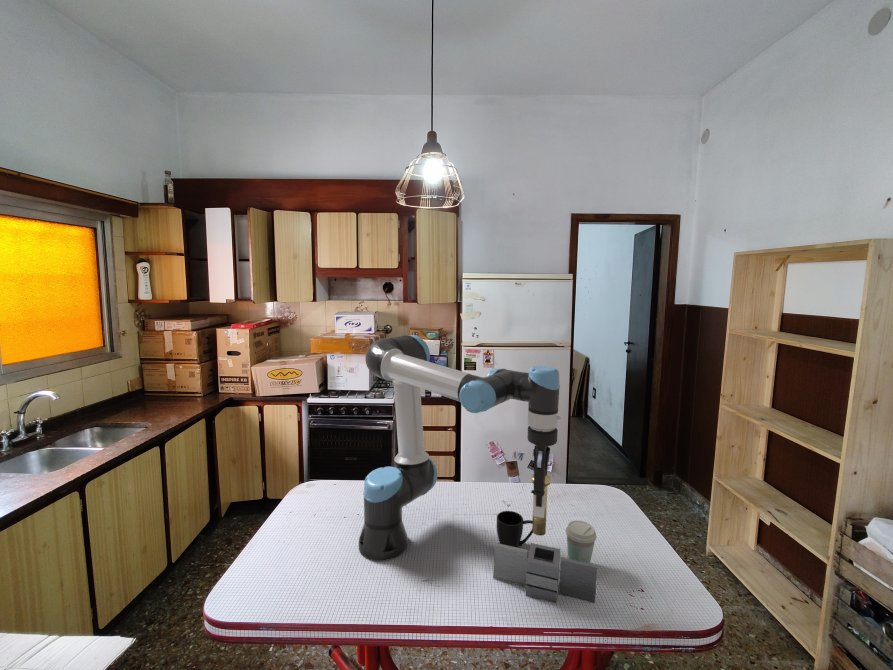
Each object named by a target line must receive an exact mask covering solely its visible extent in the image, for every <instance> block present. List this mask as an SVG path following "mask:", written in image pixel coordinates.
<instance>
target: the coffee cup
mask: <svg viewBox="0 0 893 670" xmlns="http://www.w3.org/2000/svg"><path fill="white" fill-rule="evenodd" d="M565 534H566V542H567V543H566V544H567V559H571V560H576V561H581V562H585V563H590V564H591V561H592V557H593V552H594V546H595V541H596V540H597V533H596V529H595V527H594V526H593V525H592V524H591V523H589V522H587V521H584V520H576V519H575V520H572V521H570V522H569V523H568V524H567V526H566V528H565Z"/></svg>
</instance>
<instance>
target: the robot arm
mask: <svg viewBox="0 0 893 670" xmlns="http://www.w3.org/2000/svg"><path fill="white" fill-rule="evenodd" d="M430 354H431V353H430V348H429V346H428V344H427V343H426V341H424V340H423V338H422V337H420V336H418V335H416V334H415V335H414V334H405V335H403V334H402V335H397V336H391V337H384V338H378V339H377V340H375V341H374V342H372V343H371V344H370V345H369V347H368V348H367V350H366V353H365V358H364V360H365V365H366V367H367V369H368V370H369V372H370V373H371V374H372V375H374V376H376V377H378V378H379V379H382V380H385V381H387V382H392V383H393V391H394V406H395V420H396V432H397V433H396V435H397V437H396V438H397V448H398V451H397V452H398V453H397V454H396V456H395V457H394V458H393V459H394V466H384V467H382V466H381V467H378V468H376V469H373V470H372V471H370V472H369V473H368V474H367V476H365V478H364V482H363V483H364V484H363V490H362V491H363V519H364V520H363V521H364V522H363V526H362V529H361V532H360V535H359V537H358V550H359V553H360V554H361V555H362V556H363V557H364V558H366V559H368V560H370V561H376V562H384V561H390V560H393V559H396V558H397V557H400V556H401V555H402V554H403V553H404V552H405V551H406V550H407V548H408V544H409V543H408V537H409V536H408V534H407V531H406V528H405V526H404V522H403V508H404V507H405V506H407V505H409V504H410V503H411V502H414V501H415V500H416V499H418V498H420V497H423V496H424V495H426V494H427V493H428V492H429V491H431V490H432V489H433V488H434V486H436V483H437V481H438V469H437V465H436V464H434V463H435V462H434V460H433V459H432V458H431V457H430V455H429V453H428V452H426V450H425V443H424V439H425V438H424V427H423V409H422V394H421V393H422V392H421V389H422V390H424V391H428V392H431V393H434V394H436V395H439V396H442V397H445V398H448V399H451V400H454V401H457V402H460V405H461V406H462V407H463V408H464V409H465V410H466V412H469V413H471V414H478V413H481V412H486V411H489V410H490V409H492V408H494V407H496V406H498V405H501V404H503V403H504V402H507V401H510V400H516V401H521V402H526V403H528V404H527V406H528V408H527V425H528V427H527V441H528V442H529V443H530V444H533V445H534V449H533V451H532V452H533V453H532V455H533V474H534V484H533V489H532V490H531V491H530V493H531V494H533V495H534V511H533V510H532V517H533V516H535V517H541V518H544V510H545V491H544V489H545V475H548V468H549V467H548V465H549V460H550V453H551V447H552V446H554V445H556V444H557V443H558V435H559V434H558V428H557V427H559V426H558V424H559V423H558V422H559V420H561V417H562V416H561V415H559V401H560V389H561V385H560V372H559V370H558V369H557V368H555V367H552V366H549V365H548V366H546V365H535V366H531V367H530V368H529V372H523V371H519V370H512V369H506V368H493V369H490V370H489V372H488V373H487V375H486V376H485V377H482V376H479V375H474V374H471V373H469V372H465V371H463V370H462V371H461V370H458V369H456V368H455V369H454V368H452V367H448V366H445V365H442V364H438V363H434V362H432V361H430V358H431V355H430Z"/></svg>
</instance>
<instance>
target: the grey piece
mask: <svg viewBox="0 0 893 670" xmlns="http://www.w3.org/2000/svg"><path fill="white" fill-rule="evenodd" d="M493 546H494V549H493V551H494V552H493V572H492V573H493V575H492V577H493V579H494V580H499V581H503V582H507V583H510V584H515V585H518V586H523V587H526V584H530V585H534V586H538V587H542V588H546V589H550V590H554V591H557V589H558V590H559V580H558V579H556V578H552V577H548V576H543V575H539V574H535V573H531V572H527V559H528V554H529V549H525V548H520V547H518V548H517V547H512V546H508V545H503V544H500V543H497V542H494V545H493ZM535 559H537V560H541V561H546V562H550V563H553V561H550V560H545V559H541V558H537V557H535ZM559 564H561V561H560V562H559ZM558 577H559V578H560V573H559V574H558Z"/></svg>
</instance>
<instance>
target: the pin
mask: <svg viewBox="0 0 893 670" xmlns="http://www.w3.org/2000/svg"><path fill="white" fill-rule="evenodd" d="M531 483H532V485H534V473H533V474H532V475H531ZM549 485H551V477H550V476H549V475H548V474H547V475H545V489H544V491H545V510H544V518H541V517H535V516H533V515H532V521H533V524H531V525H532V527H531V530H532V532H533V533H532V534H534V535H536V536H540V537H541V536H544V535H546V533H547V509H548V505H547V504H548V486H549ZM532 499H533V502H532V503H533V504H532V512H533V511H534V494H533V498H532Z"/></svg>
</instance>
